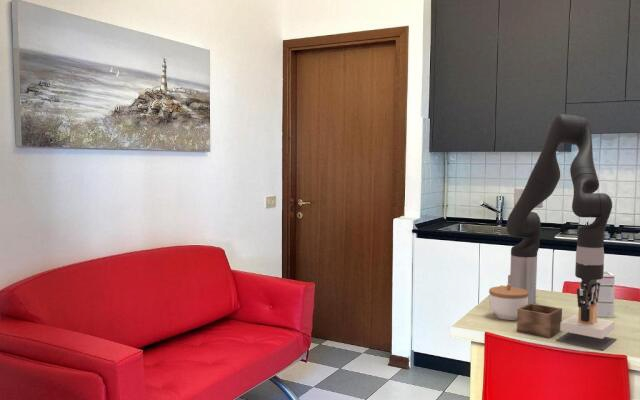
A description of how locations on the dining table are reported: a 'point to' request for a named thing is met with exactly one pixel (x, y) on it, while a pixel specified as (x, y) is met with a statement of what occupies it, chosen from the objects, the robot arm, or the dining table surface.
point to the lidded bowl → (507, 301)
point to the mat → (586, 341)
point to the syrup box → (606, 296)
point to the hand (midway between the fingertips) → (587, 319)
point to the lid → (588, 324)
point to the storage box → (539, 320)
